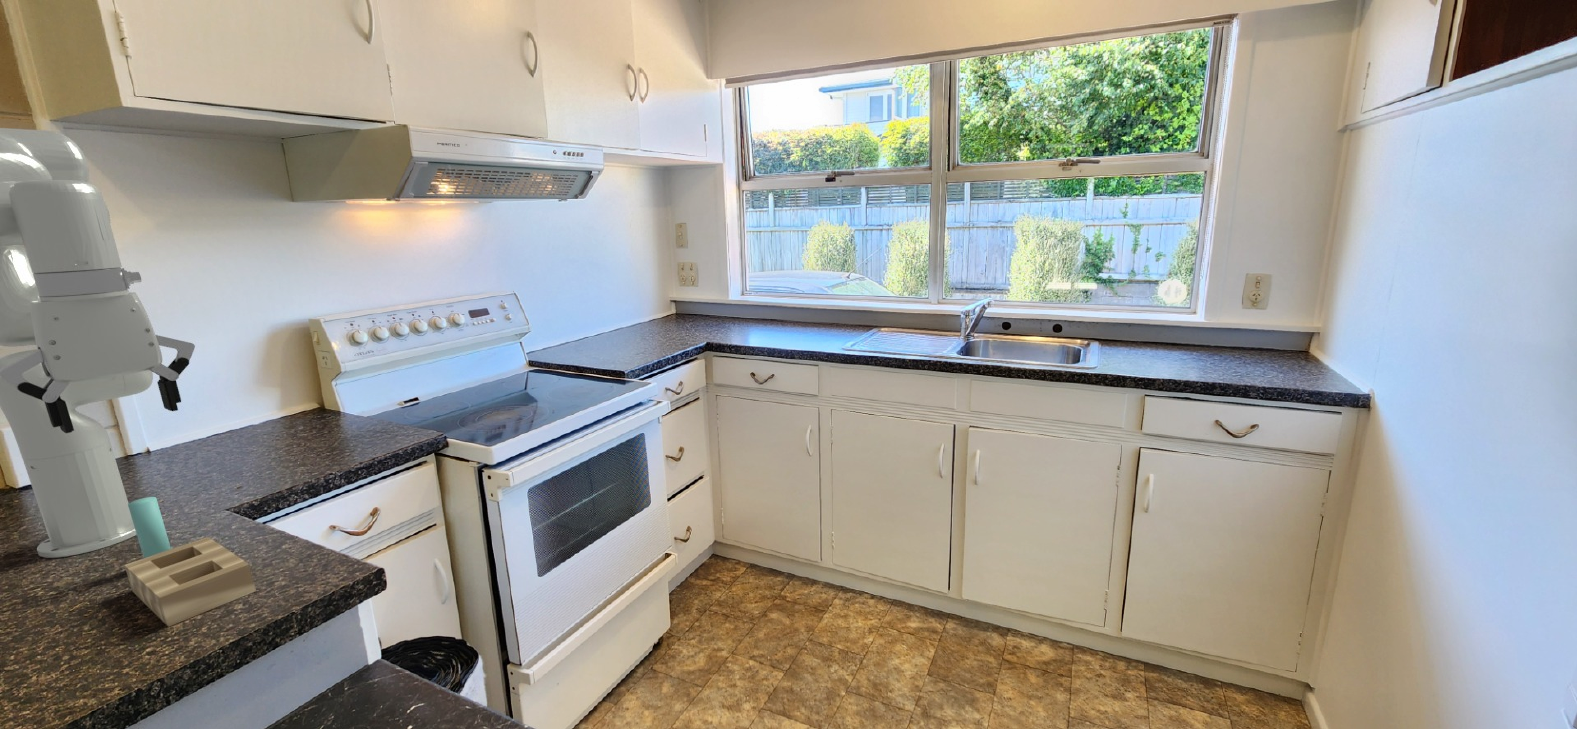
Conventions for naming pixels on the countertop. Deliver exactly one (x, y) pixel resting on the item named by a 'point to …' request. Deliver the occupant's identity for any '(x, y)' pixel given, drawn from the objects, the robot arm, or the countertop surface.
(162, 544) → the peg
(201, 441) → the countertop surface
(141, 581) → the hole block
